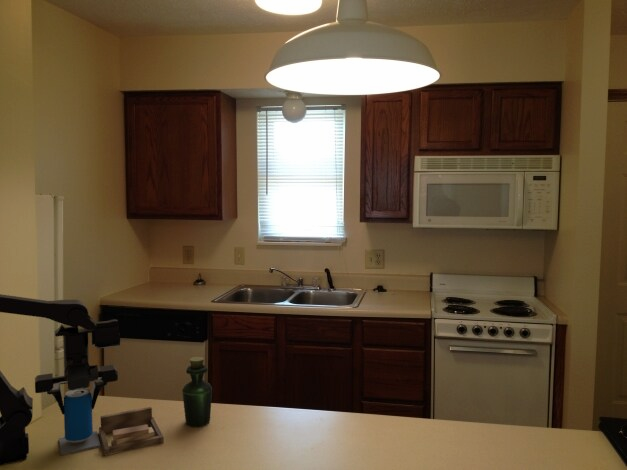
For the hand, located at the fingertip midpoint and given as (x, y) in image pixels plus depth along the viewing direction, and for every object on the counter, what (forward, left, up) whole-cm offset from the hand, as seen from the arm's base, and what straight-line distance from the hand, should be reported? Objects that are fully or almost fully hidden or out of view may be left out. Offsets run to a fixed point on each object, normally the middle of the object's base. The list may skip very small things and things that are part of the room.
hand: (78, 411), depth 131 cm
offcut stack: (+12, -7, -8) cm, 16 cm away
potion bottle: (+30, -2, -9) cm, 31 cm away
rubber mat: (0, 0, -8) cm, 8 cm away
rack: (+12, -3, -8) cm, 15 cm away
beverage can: (0, 0, -7) cm, 7 cm away
